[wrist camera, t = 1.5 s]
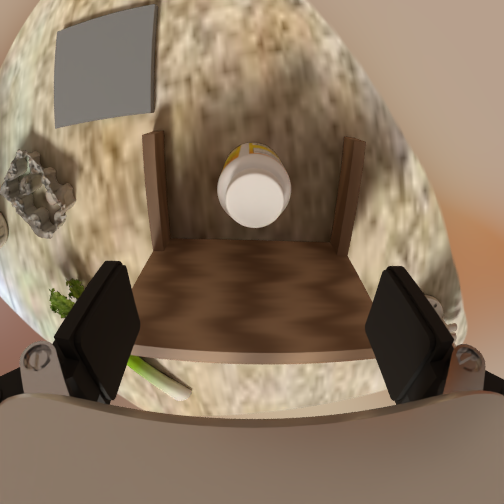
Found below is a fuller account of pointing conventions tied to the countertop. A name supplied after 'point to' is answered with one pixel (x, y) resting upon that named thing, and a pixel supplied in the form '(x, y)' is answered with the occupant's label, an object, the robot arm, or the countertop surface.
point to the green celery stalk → (134, 361)
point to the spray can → (3, 230)
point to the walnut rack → (251, 286)
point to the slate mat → (105, 67)
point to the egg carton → (32, 183)
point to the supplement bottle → (253, 185)
